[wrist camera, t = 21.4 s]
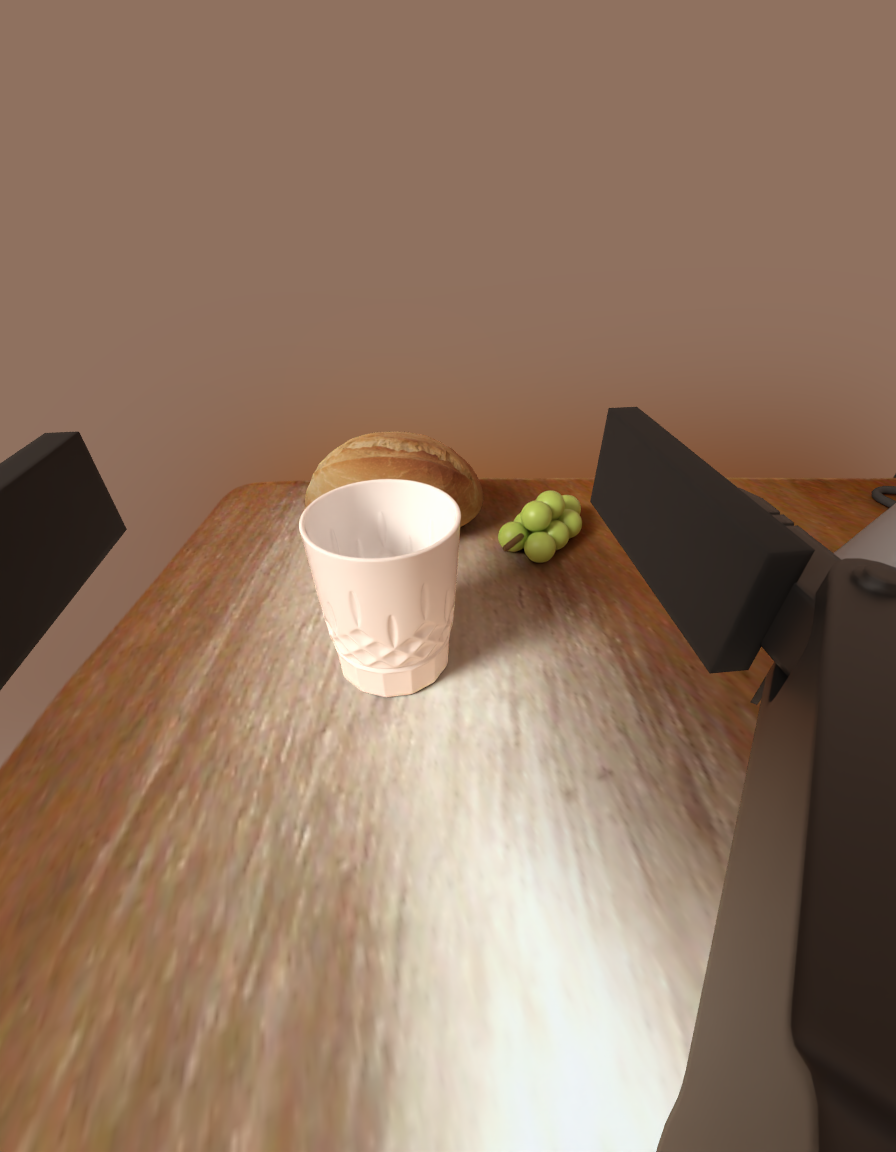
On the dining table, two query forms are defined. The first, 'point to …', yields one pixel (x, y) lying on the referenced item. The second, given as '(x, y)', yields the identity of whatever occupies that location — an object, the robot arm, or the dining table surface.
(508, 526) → the grapes
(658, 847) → the dining table surface
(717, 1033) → the robot arm
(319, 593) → the white cup
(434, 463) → the bread roll
